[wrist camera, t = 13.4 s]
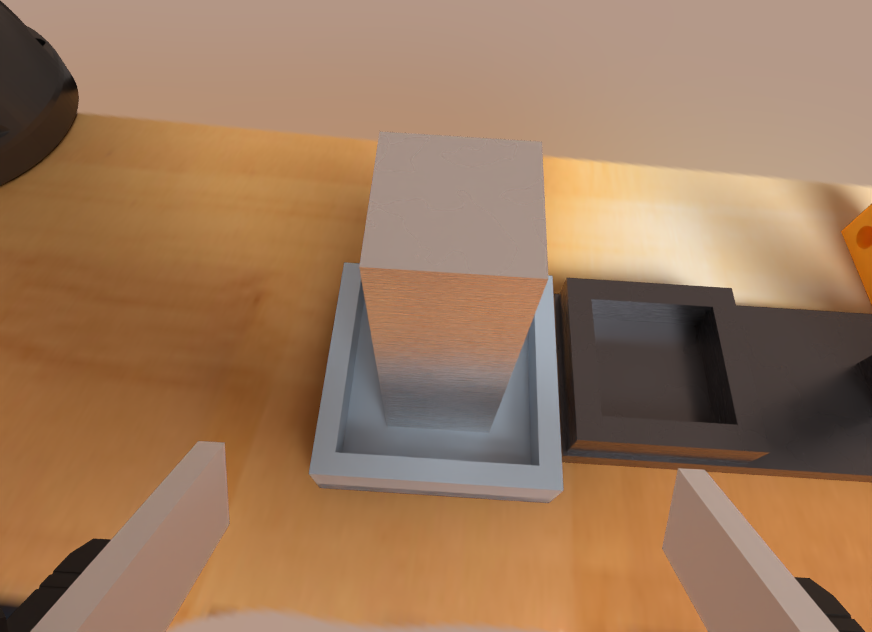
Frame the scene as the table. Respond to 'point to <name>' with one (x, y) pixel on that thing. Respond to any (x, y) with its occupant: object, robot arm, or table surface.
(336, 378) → the parts tray
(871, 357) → the dark grey post stand
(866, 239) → the pipe clamp
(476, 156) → the light grey tall block
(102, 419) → the table surface
